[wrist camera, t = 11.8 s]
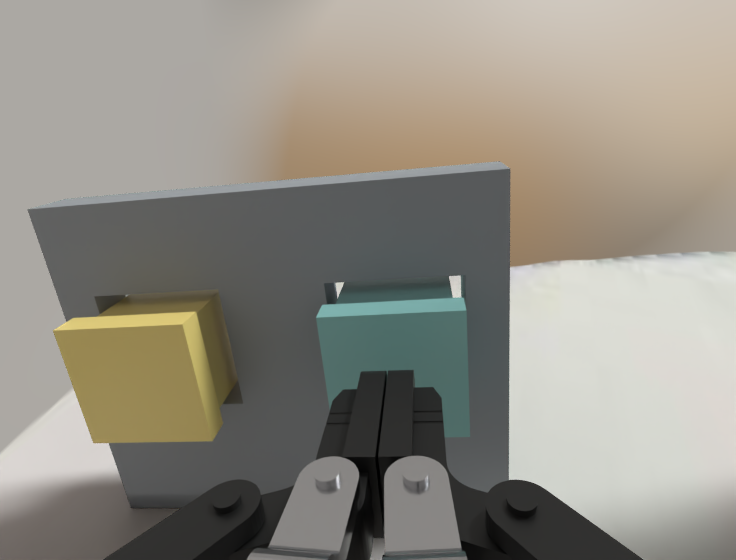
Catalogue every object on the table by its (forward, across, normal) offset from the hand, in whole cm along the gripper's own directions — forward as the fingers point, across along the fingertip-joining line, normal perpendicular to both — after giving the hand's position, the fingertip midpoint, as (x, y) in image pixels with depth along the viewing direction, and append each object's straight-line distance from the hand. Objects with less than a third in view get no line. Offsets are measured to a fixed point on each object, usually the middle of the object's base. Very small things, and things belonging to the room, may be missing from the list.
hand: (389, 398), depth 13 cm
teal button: (+5, 0, +3) cm, 6 cm away
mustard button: (+5, +9, +3) cm, 11 cm away
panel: (+7, +4, +8) cm, 12 cm away
